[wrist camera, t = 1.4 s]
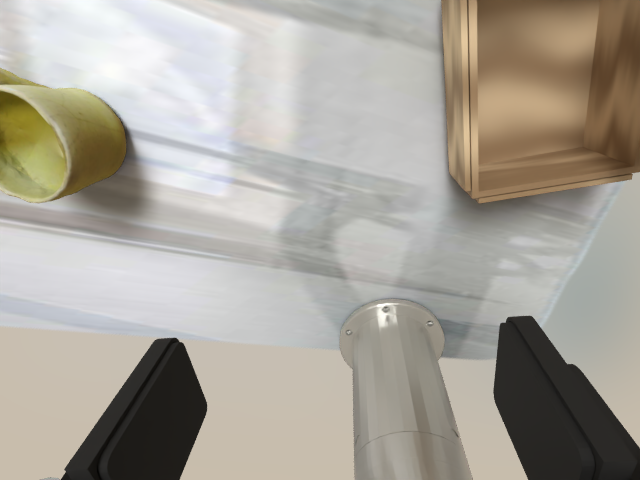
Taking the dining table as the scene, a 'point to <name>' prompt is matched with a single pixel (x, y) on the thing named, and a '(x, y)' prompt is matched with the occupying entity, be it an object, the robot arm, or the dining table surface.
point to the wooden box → (541, 94)
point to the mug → (54, 140)
